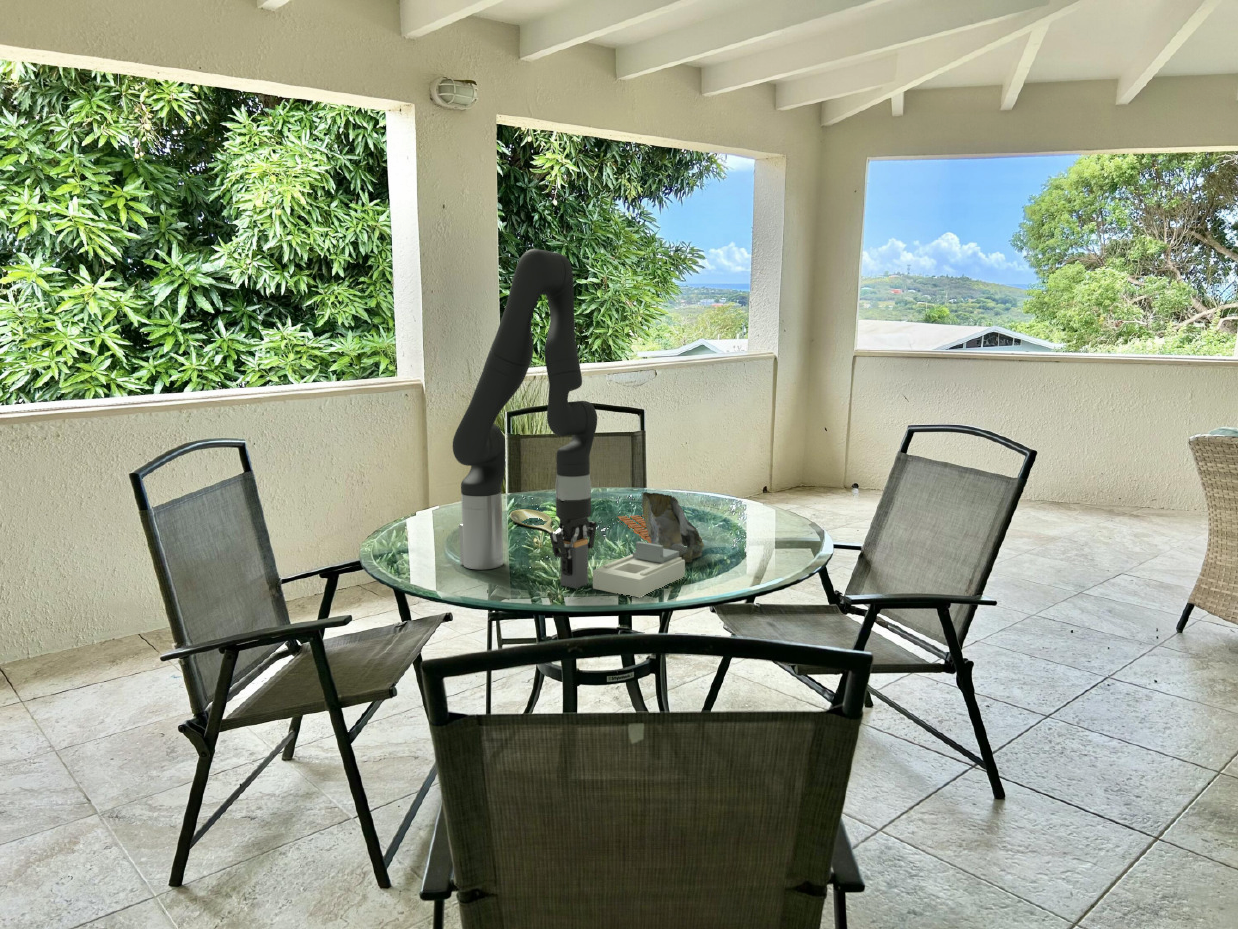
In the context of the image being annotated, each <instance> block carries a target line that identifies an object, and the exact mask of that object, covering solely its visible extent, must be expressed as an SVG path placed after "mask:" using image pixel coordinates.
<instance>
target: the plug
mask: <svg viewBox="0 0 1238 929" xmlns="http://www.w3.org/2000/svg"><path fill="white" fill-rule="evenodd" d="M564 543H565V544H570V543H571V542H567V541H564ZM588 543H589V539H580V540H577V541H576V542H575V543H574V548H573V554H572V558H571V559H572V575H571V576H567V575H564V574H563V573H562V559H561V558H560V586H563V587H567V588H572V589H578V588H581V587H584V586H587V585H588V584H589V560H588V559H589V553H588V552H589V550H588ZM565 549H566V553H568V548H567V547H566V548H565Z"/></svg>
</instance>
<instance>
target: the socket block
mask: <svg viewBox="0 0 1238 929" xmlns="http://www.w3.org/2000/svg"><path fill="white" fill-rule="evenodd" d="M685 570H686V563H685V560H682V558H681V557H676V558H674V559H672V560H669V561H667V562H665V563H659V562H654V561H648V560H643V559H638V558H633V553H632V554H630V555H629V554H628V555H627V556H624V557H622V558H619V559H617V560H613V561H611V562H609V563H607V564H603V566H600V567H598V568H595V569H592V589H593V590H600V591H604V592H608V593H613V594H617V593H618V594H617V595H621V594H623V595H622V596H626V595H630V596H629V597H631V596H636V597H641V596H643V595H646V594H648V593H650V592H652V591H654V590H655V589H659V588H661V589H663V588H665V587H666V586H665V585H667V584H669V583H672V582H674V581H676V580H678V581H680V580H682V579H683V578H682V577H685V574H686V571H685ZM681 578H682V579H681ZM685 578H686V577H685ZM679 579H680V580H679ZM676 582H677V581H676ZM674 583H675V582H674ZM672 584H673V583H672ZM664 586H665V587H664ZM667 586H668V585H667ZM662 587H663V588H662ZM659 590H660V589H659ZM654 592H655V591H654ZM652 593H653V592H652ZM650 594H651V593H650ZM648 595H649V594H648ZM646 596H647V595H646ZM641 598H642V597H641Z"/></svg>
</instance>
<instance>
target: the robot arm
mask: <svg viewBox="0 0 1238 929" xmlns="http://www.w3.org/2000/svg"><path fill="white" fill-rule="evenodd" d="M574 289H575V288H574V273H573V267H572V264H571V262H570V260H569V259H568V258H567V257H566V255H563V254H562V253H558V252H554V251H549V250H544V249H538V248H530V249H529V250H527V251H525V252H524V253H523V254H522V255H521V257H520V258H519V260H518V262H517V264H516V268H515V270H514V275H513V277H512V282H511V285H510V288H509V294H508V297H507V301H506V305H505V308H504V311H503V314H502V317H501V320H500V322H499V325H498V329H497V332H496V334H495V337H494V339H493V342H492V344H491V347H490V350H489V352H488V355H487V356H486V359H485V362H484V366H483V368H482V372H481V374H480V376H479V379H478V383H477V385H476V388H475V390H474V393H473V395H472V397H471V400H470V402H469V405H468V406H467V409H466V411H465V413H464V415H463V416H462V419H461V420H460V423H459V425H458V427H457V429H456V430H455V434H454V435H453V438H452V453H453V455H454V458H455V459H456V462H458V463H459V464H461V465H463V466H466V467H467V466H468V467H469V466H471V467H470V469H469V472H468V473H467V475H466V476H465V477H464V478H463V479H462V480H461V483H460V495H461V497H460V498H461V501H460V502H461V523H460V524H459V526H458V530H459V532H458V533H459V557H460V558H459V559H460V561H459V562H460V565H462V566H464V567H465V568H467V569H471V570H491V569H496V568H499V567H502V566H503V564H504V539H503V534H504V533H503V502H502V501H503V500H502V497H503V496H502V493H503V492H502V485H503V482H504V479H505V473H506V470H505V468H506V443H505V437H504V435H503V434H504V433H503V432H502V430H501V429H500V427H499V426H498V425H496V424H495V423H496V422H495V421H496V419H497V417H498V416H499V414H500V413H501V411H502V409H504V407H505V406H506V405H507V404H508V403H509V401H510V400H511V398H513V396H514V395H515V394H516V393H517V391H518V390H519V389H520V387H521V385H522V384H523V381H524V380H525V378H526V375H527V373H528V370H529V368H530V366H531V363H532V360H533V356H534V340H533V332H532V331H533V330H532V319H533V316H534V315H533V314H534V311H535V309H536V307H537V303H538V302H539V299H540V297H541V296H546V299H547V302H548V303H547V304H548V307H549V313H550V321H549V327H548V332H547V336H546V339H545V344H544V361H545V363H544V364H545V368H546V373H547V378H548V384H549V385H548V399H547V410H546V421H547V425H548V427H549V429H550V431H551V432H552V433H553V434H554V435H556V436H557V437H567V436H572V438H571V440H570V442H569V443H568V444H566V445H563V446H561V447H559V448H558V449H557V450H556V458H555V459H556V460H555V461H556V462H555V463H556V480H555V516H556V517H557V518H558V519H559V524H558V529H557V530H555V531H556V532H550V533H549V537H550V542H551V546H552V547H551V548H552V550H553V554H554V557H556V558H560V560H561V559H562V573H563V574H564V575H567V576H571V575H572V559H571V558H572V554H573V548H574V543H575V542H576V541H577V540H580V539H588V538H589V539H588V551H590V549H591V550H592V549H593V548H594V542H595V539H596V538H595V536H596V532H597V526H598V522H597V521H591V520H589V518H590V517H591V515H592V482H591V481H592V480H591V477H590V476H591V474H590V470H591V469H590V455H591V450H592V447H593V441H594V438H595V434H596V431H597V426H598V414H597V410H596V408H595V407H594V405H593V404H592V403H591V402H590V401H587V400H575V401H569V400H568V399H569V393H570V392H573V391H576V390H578V389H579V388H581V387H582V384H583V376H582V372H581V365H580V364H581V363H580V359H579V355H578V354H579V353H578V349H577V348H578V347H577V341H576V340H577V339H576V331H575V328H576V327H575V301H574V300H575V298H574V297H575V295H574V293H575V291H574ZM564 541H567V542H571V543H570V544H565V543H564ZM566 547H567V548H568V553H566V549H565V548H566Z"/></svg>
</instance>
